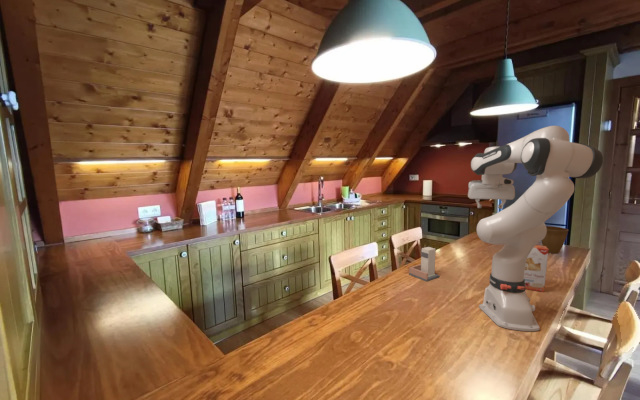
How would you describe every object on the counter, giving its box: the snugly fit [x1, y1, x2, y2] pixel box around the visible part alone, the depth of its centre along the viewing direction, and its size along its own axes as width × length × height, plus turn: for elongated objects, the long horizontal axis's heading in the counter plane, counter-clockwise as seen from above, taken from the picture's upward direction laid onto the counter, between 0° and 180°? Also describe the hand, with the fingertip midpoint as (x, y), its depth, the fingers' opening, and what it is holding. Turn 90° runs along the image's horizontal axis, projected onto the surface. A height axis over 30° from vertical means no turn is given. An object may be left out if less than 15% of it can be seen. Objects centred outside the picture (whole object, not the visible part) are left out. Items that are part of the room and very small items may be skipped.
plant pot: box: [540, 225, 569, 254], centre depth 196 cm, size 15×15×16 cm
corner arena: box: [408, 263, 440, 282], centre depth 158 cm, size 11×10×4 cm
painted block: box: [420, 246, 436, 276], centre depth 156 cm, size 4×6×14 cm
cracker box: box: [524, 244, 549, 293], centre depth 141 cm, size 14×6×21 cm, turn 62°
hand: (489, 208), depth 147 cm, fingers open, 8 cm apart
